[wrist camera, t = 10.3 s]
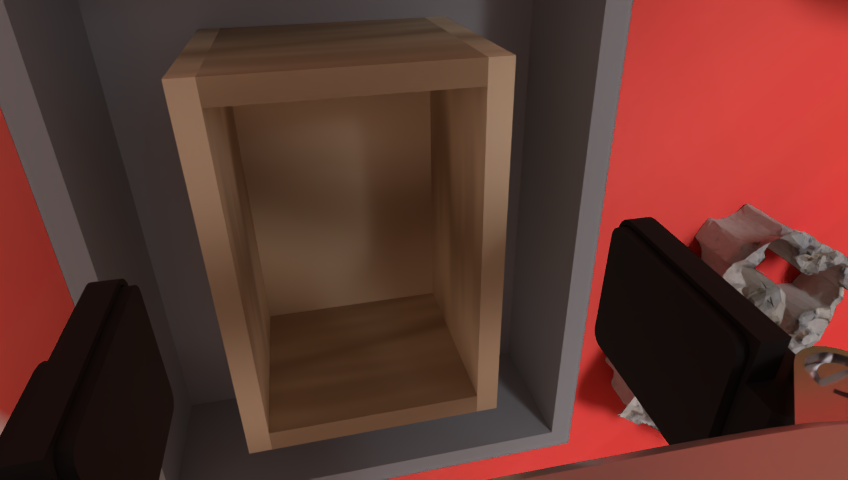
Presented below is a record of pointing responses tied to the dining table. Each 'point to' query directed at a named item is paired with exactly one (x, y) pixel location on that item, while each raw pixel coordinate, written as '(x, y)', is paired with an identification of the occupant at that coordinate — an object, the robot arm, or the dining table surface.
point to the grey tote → (178, 239)
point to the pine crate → (349, 217)
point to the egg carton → (766, 281)
